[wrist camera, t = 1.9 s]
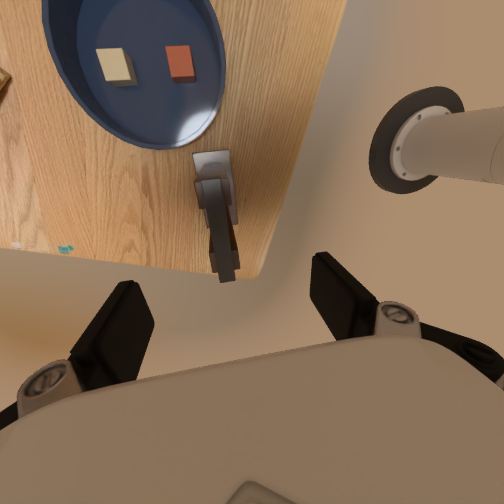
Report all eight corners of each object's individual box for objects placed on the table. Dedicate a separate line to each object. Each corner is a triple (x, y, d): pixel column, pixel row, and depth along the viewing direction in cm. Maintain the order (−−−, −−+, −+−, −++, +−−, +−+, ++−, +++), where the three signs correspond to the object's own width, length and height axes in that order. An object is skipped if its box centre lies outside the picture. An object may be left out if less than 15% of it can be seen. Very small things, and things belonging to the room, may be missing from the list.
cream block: (130, 57, 27) (121, 47, 24) (138, 85, 28) (130, 79, 26) (106, 58, 27) (95, 48, 24) (116, 87, 28) (105, 81, 25)
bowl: (211, -34, 25) (210, -77, 20) (231, 143, 34) (234, 142, 29) (40, -34, 23) (-6, -81, 18) (110, 154, 32) (92, 155, 27)
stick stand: (228, 149, 34) (243, 153, 17) (237, 222, 41) (255, 280, 23) (192, 153, 34) (169, 160, 16) (207, 226, 40) (201, 289, 22)
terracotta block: (191, 54, 28) (189, 44, 25) (196, 82, 29) (194, 76, 27) (169, 55, 28) (164, 45, 25) (175, 83, 29) (171, 77, 26)
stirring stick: (220, 175, 17) (220, 177, 16) (234, 272, 22) (235, 280, 21) (201, 177, 17) (200, 180, 16) (219, 274, 22) (220, 283, 21)
